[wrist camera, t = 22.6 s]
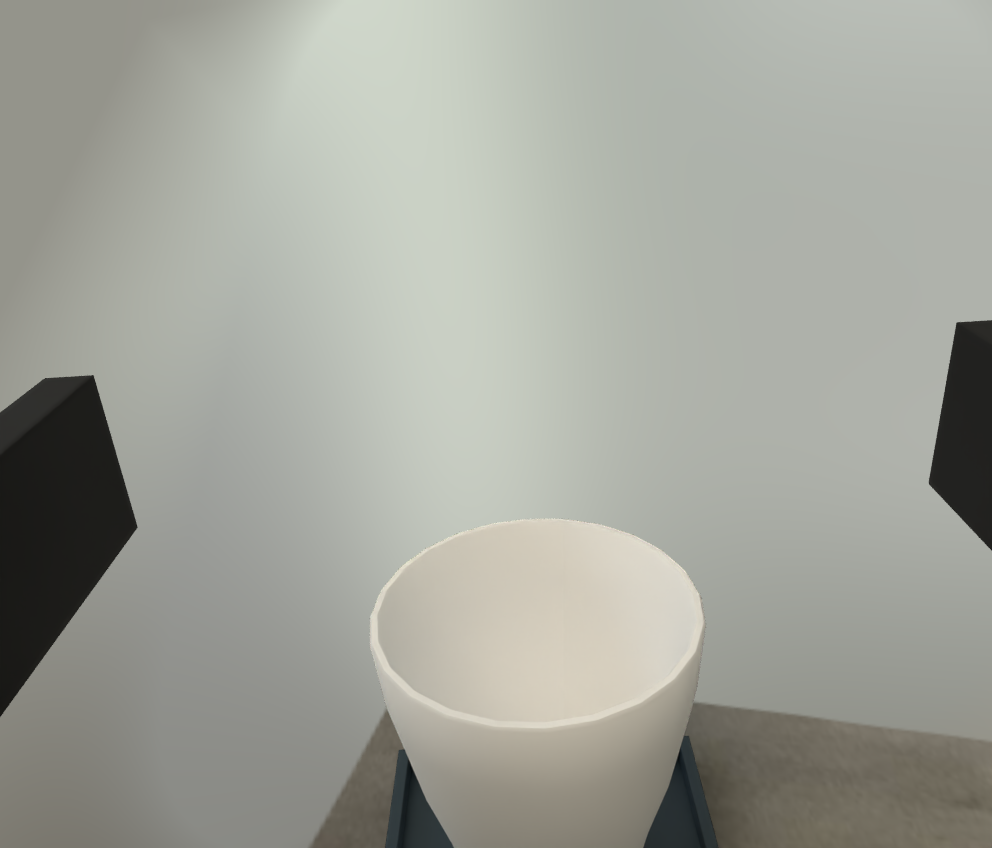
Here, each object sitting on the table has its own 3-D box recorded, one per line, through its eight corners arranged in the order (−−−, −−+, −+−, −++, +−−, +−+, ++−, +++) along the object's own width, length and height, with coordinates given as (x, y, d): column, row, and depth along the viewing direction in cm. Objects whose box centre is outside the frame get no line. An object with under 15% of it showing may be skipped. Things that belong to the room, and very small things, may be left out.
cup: (373, 1001, 29) (309, 702, 23) (460, 764, 38) (429, 507, 32) (685, 1075, 26) (699, 757, 21) (698, 801, 35) (710, 528, 30)
